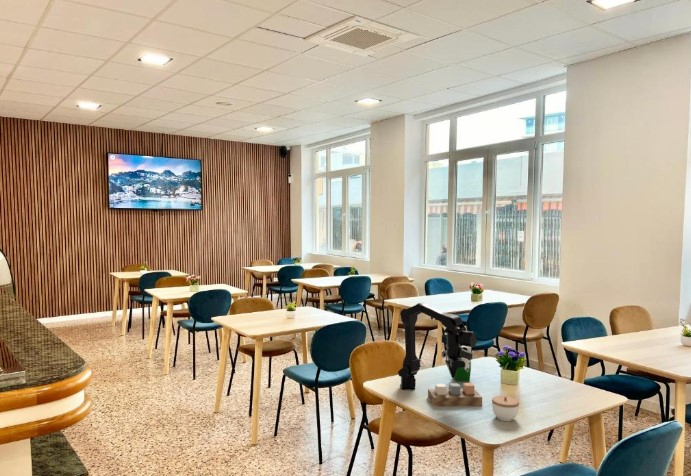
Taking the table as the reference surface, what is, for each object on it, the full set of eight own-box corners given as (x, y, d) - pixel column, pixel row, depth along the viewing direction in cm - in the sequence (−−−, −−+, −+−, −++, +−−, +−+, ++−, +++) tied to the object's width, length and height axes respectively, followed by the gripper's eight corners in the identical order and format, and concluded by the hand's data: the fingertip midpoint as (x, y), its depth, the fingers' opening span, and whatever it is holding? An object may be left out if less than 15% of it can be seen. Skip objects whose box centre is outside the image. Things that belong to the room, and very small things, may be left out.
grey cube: (451, 395, 220) (451, 386, 220) (449, 391, 224) (449, 383, 224) (460, 394, 220) (460, 386, 220) (457, 391, 224) (457, 383, 224)
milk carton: (451, 376, 258) (451, 339, 257) (468, 376, 258) (469, 339, 257) (454, 381, 249) (455, 343, 249) (472, 382, 249) (473, 343, 249)
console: (433, 406, 216) (433, 397, 216) (427, 397, 227) (428, 389, 227) (482, 406, 217) (482, 397, 217) (473, 397, 228) (474, 388, 228)
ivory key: (437, 395, 219) (437, 387, 219) (435, 392, 223) (435, 384, 223) (446, 395, 220) (446, 386, 219) (443, 392, 224) (443, 383, 223)
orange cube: (465, 394, 220) (465, 385, 220) (462, 391, 224) (463, 382, 224) (474, 394, 220) (474, 385, 220) (471, 391, 224) (471, 382, 224)
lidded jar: (503, 425, 197) (504, 402, 197) (486, 415, 207) (486, 393, 207) (524, 421, 201) (524, 399, 201) (505, 411, 211) (506, 390, 211)
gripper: (477, 348, 212) (476, 384, 212) (464, 338, 230) (464, 371, 231) (452, 348, 211) (451, 384, 212) (441, 338, 230) (441, 371, 230)
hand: (452, 377), depth 221 cm, fingers closed
